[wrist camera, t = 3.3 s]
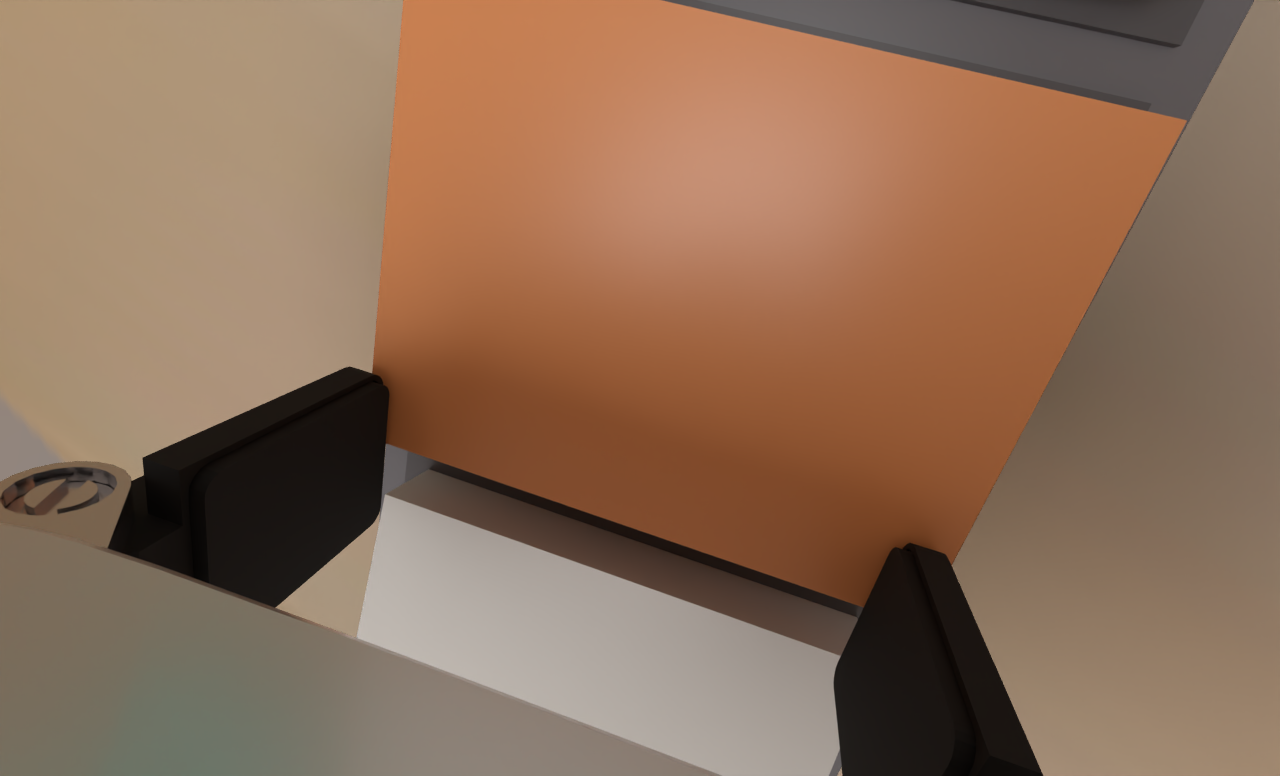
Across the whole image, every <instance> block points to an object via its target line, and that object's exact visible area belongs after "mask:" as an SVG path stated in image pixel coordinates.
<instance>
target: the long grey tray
mask: <svg viewBox="0 0 1280 776" xmlns="http://www.w3.org/2000/svg"><path fill="white" fill-rule="evenodd" d="M662 1H667V2H671V3H676V4H680V5H684V6H689V7H693V8H697V9H702V10H706V11H711V12H715V13H719V14H724V15H728V16H732V17H737V18H741V19H746V20H750V21H754V22H759V23H763V24H767V25H772V26H776V27H780V28H785V29H789V30H794V31H798V32H802V33H807V34H811V35H815V36H820V37H824V38H829V39H833V40H837V41H842V42H846V43H850V44H855V45H859V46H864V47H868V48H872V49H877V50H881V51H885V52H890V53H894V54H899V55H903V56H907V57H912V58H916V59H920V60H925V61H929V62H934V63H938V64H942V65H947V66H951V67H955V68H960V69H964V70H969V71H973V72H977V73H982V74H986V75H990V76H995V77H999V78H1004V79H1008V80H1012V81H1017V82H1021V83H1025V84H1030V85H1034V86H1039V87H1043V88H1047V89H1052V90H1056V91H1060V92H1065V93H1069V94H1074V95H1078V96H1082V97H1087V98H1091V99H1095V100H1100V101H1104V102H1109V103H1113V104H1117V105H1122V106H1126V107H1130V108H1135V109H1139V110H1144V111H1148V112H1152V113H1157V114H1161V115H1165V116H1170V117H1174V118H1179V119H1183V120H1187V122H1186V124H1185V126H1184V127H1183V129H1182V131H1181V133H1180V135H1179V137H1178V139H1177V141H1176V143H1175V144H1174V146H1173V148H1172V150H1171V152H1170V154H1169V156H1168V158H1167V160H1166V161H1165V163H1164V165H1163V167H1162V169H1161V171H1160V173H1159V175H1158V177H1157V178H1156V180H1155V182H1154V184H1153V186H1152V188H1151V190H1150V192H1149V194H1148V195H1147V197H1146V199H1145V201H1144V203H1143V205H1142V207H1141V209H1140V211H1139V212H1138V214H1137V216H1136V218H1135V220H1134V222H1133V224H1132V226H1133V225H1134V223H1135V221H1136V219H1137V217H1138V215H1139V213H1140V212H1141V210H1142V208H1143V206H1144V204H1145V202H1146V200H1147V199H1148V197H1149V195H1150V193H1151V191H1152V189H1153V187H1154V186H1155V184H1156V182H1157V180H1158V178H1159V176H1160V174H1161V173H1162V171H1163V169H1164V167H1165V165H1166V163H1167V161H1168V160H1169V158H1170V156H1171V154H1172V152H1173V150H1174V148H1175V147H1176V145H1177V143H1178V141H1179V139H1180V137H1181V135H1182V134H1183V132H1184V130H1185V128H1186V126H1187V124H1188V122H1189V121H1190V119H1191V117H1192V115H1193V113H1194V111H1195V109H1196V108H1197V106H1198V104H1199V102H1200V100H1201V98H1202V96H1203V95H1204V93H1205V91H1206V89H1207V87H1208V85H1209V83H1210V82H1211V80H1212V78H1213V76H1214V74H1215V72H1216V70H1217V69H1218V67H1219V65H1220V63H1221V61H1222V59H1223V57H1224V56H1225V54H1226V52H1227V50H1228V48H1229V46H1230V44H1231V43H1232V41H1233V39H1234V37H1235V35H1236V33H1237V31H1238V30H1239V28H1240V26H1241V24H1242V22H1243V20H1244V18H1245V17H1246V15H1247V13H1248V11H1249V9H1250V7H1251V5H1252V4H1253V2H1254V0H662ZM1132 226H1131V228H1132ZM1131 228H1130V229H1129V231H1128V233H1127V235H1126V237H1125V239H1126V238H1127V236H1128V234H1129V232H1130V230H1131ZM1125 239H1124V241H1125ZM1124 241H1123V243H1124ZM1123 243H1122V245H1123ZM1122 245H1121V246H1120V248H1119V250H1118V252H1119V251H1120V249H1121V247H1122ZM1118 252H1117V254H1118ZM1117 254H1116V256H1117ZM1116 256H1115V258H1116ZM1115 258H1114V260H1115ZM1114 260H1113V262H1114ZM1113 262H1112V263H1111V265H1112V264H1113ZM1111 265H1110V267H1111ZM1110 267H1109V269H1110ZM1109 269H1108V271H1109ZM1108 271H1107V273H1108ZM1107 273H1106V275H1107ZM1106 275H1105V277H1106ZM1105 277H1104V278H1105ZM1103 280H1104V279H1103ZM1103 280H1102V282H1103ZM1102 282H1101V284H1102ZM1101 284H1100V286H1101ZM1100 286H1099V288H1100ZM1099 288H1098V290H1099ZM1098 290H1097V291H1098ZM1096 293H1097V292H1096ZM1095 295H1096V294H1095ZM1094 297H1095V296H1094ZM1094 297H1093V299H1094ZM1093 299H1092V301H1093ZM1092 301H1091V303H1092ZM1091 303H1090V304H1091ZM1089 306H1090V305H1089ZM1088 308H1089V307H1088ZM1087 310H1088V309H1087ZM1086 312H1087V311H1086ZM1086 312H1085V314H1086ZM1085 314H1084V316H1085ZM1084 316H1083V317H1084ZM1082 319H1083V318H1082ZM1081 321H1082V320H1081ZM1080 323H1081V322H1080ZM1079 325H1080V324H1079ZM1078 327H1079V326H1078ZM1077 329H1078V328H1077ZM1077 329H1076V330H1077ZM1075 332H1076V331H1075ZM1074 334H1075V333H1074ZM1073 336H1074V335H1073ZM1072 338H1073V337H1072ZM1071 340H1072V339H1071ZM1070 342H1071V341H1070ZM1067 347H1068V346H1067ZM1066 349H1067V348H1066ZM1065 351H1066V350H1065ZM1064 353H1065V352H1064ZM1063 355H1064V354H1063ZM1058 364H1059V363H1058ZM1057 366H1058V365H1057ZM1056 368H1057V367H1056ZM1049 381H1050V380H1049ZM429 469H430V470H433V471H435V472H438V473H441V474H444V475H447V476H450V477H453V478H456V479H459V480H461V481H464V482H467V483H470V484H473V485H476V486H479V487H482V488H485V489H487V490H490V491H493V492H496V493H499V494H502V495H505V496H508V497H511V498H513V499H516V500H519V501H522V502H525V503H528V504H531V505H534V506H537V507H540V508H542V509H545V510H548V511H551V512H554V513H557V514H560V515H563V516H566V517H568V518H571V519H574V520H577V521H580V522H583V523H586V524H589V525H592V526H594V527H597V528H600V529H603V530H606V531H609V532H612V533H615V534H618V535H620V536H623V537H626V538H629V539H632V540H635V541H638V542H641V543H644V544H646V545H649V546H652V547H655V548H658V549H661V550H664V551H667V552H670V553H672V554H675V555H678V556H681V557H684V558H687V559H690V560H693V561H696V562H698V563H701V564H704V565H707V566H710V567H713V568H716V569H719V570H722V571H724V572H727V573H730V574H733V575H736V576H739V577H742V578H745V579H748V580H751V581H753V582H756V583H759V584H762V585H765V586H768V587H771V588H774V589H777V590H779V591H782V592H785V593H788V594H791V595H794V596H797V597H800V598H803V599H805V600H808V601H811V602H814V603H817V604H820V605H823V606H826V607H829V608H831V609H834V610H837V611H840V612H843V613H846V614H849V615H852V616H855V617H857V619H858V618H859V616H860V614H861V612H862V610H863V608H864V607H861V606H858V605H855V604H852V603H849V602H846V601H843V600H840V599H837V598H834V597H832V596H829V595H826V594H823V593H820V592H817V591H814V590H811V589H808V588H805V587H802V586H800V585H797V584H794V583H791V582H788V581H785V580H782V579H779V578H776V577H773V576H770V575H768V574H765V573H762V572H759V571H756V570H753V569H750V568H747V567H744V566H741V565H738V564H735V563H733V562H730V561H727V560H724V559H721V558H718V557H715V556H712V555H709V554H706V553H703V552H701V551H698V550H695V549H692V548H689V547H686V546H683V545H680V544H677V543H674V542H671V541H669V540H666V539H663V538H660V537H657V536H654V535H651V534H648V533H645V532H642V531H639V530H636V529H634V528H631V527H628V526H625V525H622V524H619V523H616V522H613V521H610V520H607V519H604V518H602V517H599V516H596V515H593V514H590V513H587V512H584V511H581V510H578V509H575V508H572V507H570V506H567V505H564V504H561V503H558V502H555V501H552V500H549V499H546V498H543V497H540V496H538V495H535V494H532V493H529V492H526V491H523V490H520V489H517V488H514V487H511V486H508V485H505V484H503V483H500V482H497V481H494V480H491V479H488V478H485V477H482V476H479V475H476V474H473V473H471V472H468V471H465V470H462V469H459V468H456V467H453V466H450V465H447V464H444V463H441V462H439V461H436V460H433V459H430V458H427V457H424V456H421V455H418V454H415V453H412V452H409V451H407V450H404V449H401V448H398V447H395V446H392V445H389V444H386V453H385V464H384V475H383V487H382V499H381V510H380V517H381V512H382V507H383V502H384V497H385V494H386V493H388V492H390V491H392V490H393V489H395V488H397V487H399V486H400V485H402V484H404V483H406V482H408V481H409V480H411V479H413V478H415V477H416V476H418V475H420V474H422V473H423V472H425V471H427V470H429ZM379 522H380V521H379ZM841 767H842V764H841V755H840V750H839V752H838V755H837V757H836V760H835V762H834V764H833V767H832V769H831V772H830V774H829V776H837V774H838V772H839V771H840V769H841Z"/></svg>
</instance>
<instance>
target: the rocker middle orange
mask: <svg viewBox="0 0 1280 776" xmlns="http://www.w3.org/2000/svg"><path fill="white" fill-rule="evenodd" d="M1186 122H1187V120H1183V119H1179V118H1174V117H1170V116H1165V115H1161V114H1157V113H1152V112H1148V111H1144V110H1139V109H1135V108H1130V107H1126V106H1122V105H1117V104H1113V103H1109V102H1104V101H1100V100H1095V99H1091V98H1087V97H1082V96H1078V95H1074V94H1069V93H1065V92H1060V91H1056V90H1052V89H1047V88H1043V87H1039V86H1034V85H1030V84H1025V83H1021V82H1017V81H1012V80H1008V79H1004V78H999V77H995V76H990V75H986V74H982V73H977V72H973V71H969V70H964V69H960V68H955V67H951V66H947V65H942V64H938V63H934V62H929V61H925V60H920V59H916V58H912V57H907V56H903V55H899V54H894V53H890V52H885V51H881V50H877V49H872V48H868V47H864V46H859V45H855V44H850V43H846V42H842V41H837V40H833V39H829V38H824V37H820V36H815V35H811V34H807V33H802V32H798V31H794V30H789V29H785V28H780V27H776V26H772V25H767V24H763V23H759V22H754V21H750V20H746V19H741V18H737V17H732V16H728V15H724V14H719V13H715V12H711V11H706V10H702V9H697V8H693V7H689V6H684V5H680V4H676V3H671V2H667V1H662V0H403V12H402V24H401V36H400V48H399V60H398V72H397V83H396V95H395V107H394V119H393V131H392V143H391V155H390V167H389V179H388V191H387V203H386V215H385V227H384V239H383V251H382V263H381V275H380V287H379V299H378V311H377V323H376V335H375V347H374V359H373V371H372V374H375V375H378V376H380V377H381V378H382V381H383V385H385V386H387V387H388V389H389V407H388V420H387V433H386V444H389V445H392V446H395V447H398V448H401V449H404V450H407V451H409V452H412V453H415V454H418V455H421V456H424V457H427V458H430V459H433V460H436V461H439V462H441V463H444V464H447V465H450V466H453V467H456V468H459V469H462V470H465V471H468V472H471V473H473V474H476V475H479V476H482V477H485V478H488V479H491V480H494V481H497V482H500V483H503V484H505V485H508V486H511V487H514V488H517V489H520V490H523V491H526V492H529V493H532V494H535V495H538V496H540V497H543V498H546V499H549V500H552V501H555V502H558V503H561V504H564V505H567V506H570V507H572V508H575V509H578V510H581V511H584V512H587V513H590V514H593V515H596V516H599V517H602V518H604V519H607V520H610V521H613V522H616V523H619V524H622V525H625V526H628V527H631V528H634V529H636V530H639V531H642V532H645V533H648V534H651V535H654V536H657V537H660V538H663V539H666V540H669V541H671V542H674V543H677V544H680V545H683V546H686V547H689V548H692V549H695V550H698V551H701V552H703V553H706V554H709V555H712V556H715V557H718V558H721V559H724V560H727V561H730V562H733V563H735V564H738V565H741V566H744V567H747V568H750V569H753V570H756V571H759V572H762V573H765V574H768V575H770V576H773V577H776V578H779V579H782V580H785V581H788V582H791V583H794V584H797V585H800V586H802V587H805V588H808V589H811V590H814V591H817V592H820V593H823V594H826V595H829V596H832V597H834V598H837V599H840V600H843V601H846V602H849V603H852V604H855V605H858V606H861V607H864V606H865V604H866V601H867V599H868V597H869V595H870V593H871V591H872V589H873V587H874V584H875V582H876V580H877V578H878V576H879V574H880V572H881V570H882V568H883V565H884V563H885V561H886V559H887V557H888V555H889V553H890V551H891V550H892V549H893V548H894V547H897V548H900V549H903V547H904V546H905V545H906V544H908V543H913V544H916V545H919V546H922V547H925V548H929V549H932V550H935V551H938V552H941V553H944V554H946V556H947V557H948V559H949V561H950V564H951V565H952V564H953V562H954V560H955V558H956V556H957V554H958V552H959V550H960V548H961V547H962V545H963V543H964V541H965V539H966V537H967V535H968V533H969V531H970V530H971V528H972V526H973V524H974V522H975V520H976V518H977V516H978V515H979V513H980V511H981V509H982V507H983V505H984V503H985V501H986V499H987V498H988V496H989V494H990V492H991V490H992V488H993V486H994V484H995V482H996V481H997V479H998V477H999V475H1000V473H1001V471H1002V469H1003V467H1004V465H1005V464H1006V462H1007V460H1008V458H1009V456H1010V454H1011V452H1012V450H1013V448H1014V447H1015V445H1016V443H1017V441H1018V439H1019V437H1020V435H1021V433H1022V431H1023V430H1024V428H1025V426H1026V424H1027V422H1028V420H1029V418H1030V416H1031V414H1032V413H1033V411H1034V409H1035V407H1036V405H1037V403H1038V401H1039V399H1040V397H1041V396H1042V394H1043V392H1044V390H1045V388H1046V386H1047V384H1048V382H1049V380H1050V379H1051V377H1052V375H1053V373H1054V371H1055V369H1056V367H1057V365H1058V363H1059V362H1060V360H1061V358H1062V356H1063V354H1064V352H1065V350H1066V348H1067V346H1068V345H1069V343H1070V341H1071V339H1072V337H1073V335H1074V333H1075V331H1076V329H1077V328H1078V326H1079V324H1080V322H1081V320H1082V318H1083V316H1084V314H1085V312H1086V311H1087V309H1088V307H1089V305H1090V303H1091V301H1092V299H1093V297H1094V296H1095V294H1096V292H1097V290H1098V288H1099V286H1100V284H1101V282H1102V280H1103V279H1104V277H1105V275H1106V273H1107V271H1108V269H1109V267H1110V265H1111V263H1112V262H1113V260H1114V258H1115V256H1116V254H1117V252H1118V250H1119V248H1120V246H1121V245H1122V243H1123V241H1124V239H1125V237H1126V235H1127V233H1128V231H1129V229H1130V228H1131V226H1132V224H1133V222H1134V220H1135V218H1136V216H1137V214H1138V212H1139V211H1140V209H1141V207H1142V205H1143V203H1144V201H1145V199H1146V197H1147V195H1148V194H1149V192H1150V190H1151V188H1152V186H1153V184H1154V182H1155V180H1156V178H1157V177H1158V175H1159V173H1160V171H1161V169H1162V167H1163V165H1164V163H1165V161H1166V160H1167V158H1168V156H1169V154H1170V152H1171V150H1172V148H1173V146H1174V144H1175V143H1176V141H1177V139H1178V137H1179V135H1180V133H1181V131H1182V129H1183V127H1184V126H1185V124H1186Z"/></svg>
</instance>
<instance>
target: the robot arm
mask: <svg viewBox="0 0 1280 776" xmlns="http://www.w3.org/2000/svg"><path fill="white" fill-rule="evenodd" d="M388 407H389V389H388V387H387V386H385V385H383V381H382V378H381V377H380V376H378V375H375V374H372V373H369V372H366V371H362V370H359V369H356V368H353V367H346V368H343V369H341V370H339V371H337V372H334V373H332V374H330V375H328V376H325V377H323V378H321V379H319V380H316V381H314V382H312V383H310V384H307V385H305V386H303V387H301V388H298V389H296V390H294V391H292V392H289V393H287V394H285V395H283V396H280V397H278V398H276V399H274V400H271V401H269V402H267V403H265V404H262V405H260V406H258V407H256V408H253V409H251V410H249V411H247V412H244V413H242V414H240V415H238V416H235V417H233V418H231V419H229V420H226V421H224V422H222V423H220V424H217V425H215V426H213V427H211V428H208V429H206V430H204V431H202V432H199V433H197V434H195V435H193V436H190V437H188V438H186V439H184V440H182V441H179V442H177V443H175V444H173V445H170V446H168V447H166V448H164V449H161V450H159V451H157V452H155V453H152V454H150V455H148V456H146V457H143V468H144V476H142V477H139V478H137V479H135V480H133V481H131V477H130V475H129V474H128V473H127V472H126V471H125V470H124V469H121V468H119V467H117V466H115V465H112V464H106V463H101V462H87V461H74V462H64V463H54V464H50V465H45V466H41V467H36V468H32V469H29V470H26V471H23V472H20V473H17V474H15V475H12V476H10V477H9V478H7V479H5V480H3V481H1V482H0V776H722V775H719V774H717V773H714V772H711V771H709V770H706V769H704V768H701V767H698V766H696V765H693V764H690V763H688V762H685V761H683V760H680V759H677V758H675V757H672V756H669V755H667V754H664V753H662V752H659V751H656V750H654V749H651V748H648V747H646V746H643V745H641V744H638V743H635V742H633V741H630V740H627V739H625V738H622V737H620V736H617V735H614V734H612V733H609V732H606V731H604V730H601V729H599V728H596V727H593V726H591V725H588V724H586V723H583V722H580V721H578V720H575V719H572V718H570V717H567V716H564V715H562V714H559V713H556V712H554V711H551V710H548V709H546V708H543V707H540V706H538V705H535V704H532V703H530V702H527V701H524V700H522V699H519V698H516V697H514V696H511V695H508V694H506V693H503V692H500V691H498V690H495V689H492V688H490V687H487V686H484V685H482V684H479V683H476V682H474V681H471V680H468V679H466V678H463V677H460V676H458V675H455V674H452V673H450V672H447V671H444V670H442V669H439V668H436V667H434V666H431V665H428V664H426V663H423V662H420V661H418V660H415V659H412V658H410V657H407V656H404V655H401V654H399V653H396V652H393V651H391V650H388V649H385V648H383V647H380V646H377V645H375V644H372V643H369V642H366V641H364V640H361V639H358V638H356V637H353V636H350V635H347V634H345V633H342V632H339V631H336V630H334V629H331V628H328V627H326V626H323V625H320V624H317V623H315V622H312V621H309V620H307V619H304V618H301V617H298V616H296V615H293V614H290V613H287V612H285V611H282V610H279V609H277V608H275V607H277V606H278V605H279V604H280V603H281V602H282V601H284V600H285V599H286V598H287V597H288V596H289V595H291V594H292V593H293V592H294V591H295V590H296V589H298V588H299V587H300V586H301V585H302V584H303V583H305V582H306V581H307V580H308V579H309V578H310V577H312V576H313V575H314V574H315V573H316V572H317V571H319V570H320V569H321V568H322V567H323V566H324V565H326V564H327V563H328V562H329V561H330V560H331V559H333V558H334V557H335V556H336V555H337V554H338V553H340V552H341V551H342V550H343V549H344V548H345V547H347V546H348V545H349V544H350V543H351V542H352V541H354V540H355V539H356V538H357V537H358V536H359V535H361V534H362V533H363V532H364V531H365V530H366V529H368V528H369V527H370V526H371V525H372V524H373V523H374V521H375V520H376V518H377V516H378V514H379V512H380V508H381V499H382V486H383V473H384V459H385V446H386V433H387V420H388ZM833 685H834V696H835V706H836V716H837V725H838V735H839V745H840V755H841V764H842V774H843V776H1043V774H1042V772H1041V769H1040V767H1039V765H1038V763H1037V760H1036V758H1035V756H1034V753H1033V751H1032V749H1031V746H1030V744H1029V742H1028V740H1027V737H1026V735H1025V733H1024V730H1023V728H1022V726H1021V724H1020V721H1019V719H1018V717H1017V714H1016V712H1015V710H1014V708H1013V705H1012V703H1011V701H1010V698H1009V696H1008V694H1007V692H1006V689H1005V687H1004V685H1003V682H1002V680H1001V678H1000V675H999V673H998V671H997V669H996V666H995V664H994V662H993V660H992V658H991V655H990V653H989V651H988V648H987V646H986V644H985V642H984V639H983V637H982V635H981V632H980V630H979V628H978V626H977V623H976V621H975V619H974V616H973V614H972V612H971V609H970V607H969V605H968V603H967V600H966V598H965V596H964V593H963V591H962V589H961V587H960V584H959V582H958V580H957V577H956V575H955V573H954V571H953V568H952V566H951V564H950V561H949V559H948V557H947V556H946V554H944V553H941V552H938V551H935V550H932V549H929V548H925V547H922V546H919V545H916V544H913V543H908V544H906V545H905V546H904V547H903V549H900V548H897V547H894V548H893V549H892V550H891V551H890V553H889V555H888V557H887V559H886V561H885V563H884V565H883V568H882V570H881V572H880V574H879V576H878V578H877V580H876V582H875V584H874V587H873V589H872V591H871V593H870V595H869V597H868V599H867V601H866V604H865V606H864V608H863V610H862V612H861V614H860V616H859V618H858V621H857V623H856V625H855V627H854V629H853V631H852V633H851V635H850V637H849V640H848V642H847V644H846V646H845V648H844V650H843V652H842V654H841V657H840V659H839V661H838V663H837V666H836V669H835V674H834V682H833Z"/></svg>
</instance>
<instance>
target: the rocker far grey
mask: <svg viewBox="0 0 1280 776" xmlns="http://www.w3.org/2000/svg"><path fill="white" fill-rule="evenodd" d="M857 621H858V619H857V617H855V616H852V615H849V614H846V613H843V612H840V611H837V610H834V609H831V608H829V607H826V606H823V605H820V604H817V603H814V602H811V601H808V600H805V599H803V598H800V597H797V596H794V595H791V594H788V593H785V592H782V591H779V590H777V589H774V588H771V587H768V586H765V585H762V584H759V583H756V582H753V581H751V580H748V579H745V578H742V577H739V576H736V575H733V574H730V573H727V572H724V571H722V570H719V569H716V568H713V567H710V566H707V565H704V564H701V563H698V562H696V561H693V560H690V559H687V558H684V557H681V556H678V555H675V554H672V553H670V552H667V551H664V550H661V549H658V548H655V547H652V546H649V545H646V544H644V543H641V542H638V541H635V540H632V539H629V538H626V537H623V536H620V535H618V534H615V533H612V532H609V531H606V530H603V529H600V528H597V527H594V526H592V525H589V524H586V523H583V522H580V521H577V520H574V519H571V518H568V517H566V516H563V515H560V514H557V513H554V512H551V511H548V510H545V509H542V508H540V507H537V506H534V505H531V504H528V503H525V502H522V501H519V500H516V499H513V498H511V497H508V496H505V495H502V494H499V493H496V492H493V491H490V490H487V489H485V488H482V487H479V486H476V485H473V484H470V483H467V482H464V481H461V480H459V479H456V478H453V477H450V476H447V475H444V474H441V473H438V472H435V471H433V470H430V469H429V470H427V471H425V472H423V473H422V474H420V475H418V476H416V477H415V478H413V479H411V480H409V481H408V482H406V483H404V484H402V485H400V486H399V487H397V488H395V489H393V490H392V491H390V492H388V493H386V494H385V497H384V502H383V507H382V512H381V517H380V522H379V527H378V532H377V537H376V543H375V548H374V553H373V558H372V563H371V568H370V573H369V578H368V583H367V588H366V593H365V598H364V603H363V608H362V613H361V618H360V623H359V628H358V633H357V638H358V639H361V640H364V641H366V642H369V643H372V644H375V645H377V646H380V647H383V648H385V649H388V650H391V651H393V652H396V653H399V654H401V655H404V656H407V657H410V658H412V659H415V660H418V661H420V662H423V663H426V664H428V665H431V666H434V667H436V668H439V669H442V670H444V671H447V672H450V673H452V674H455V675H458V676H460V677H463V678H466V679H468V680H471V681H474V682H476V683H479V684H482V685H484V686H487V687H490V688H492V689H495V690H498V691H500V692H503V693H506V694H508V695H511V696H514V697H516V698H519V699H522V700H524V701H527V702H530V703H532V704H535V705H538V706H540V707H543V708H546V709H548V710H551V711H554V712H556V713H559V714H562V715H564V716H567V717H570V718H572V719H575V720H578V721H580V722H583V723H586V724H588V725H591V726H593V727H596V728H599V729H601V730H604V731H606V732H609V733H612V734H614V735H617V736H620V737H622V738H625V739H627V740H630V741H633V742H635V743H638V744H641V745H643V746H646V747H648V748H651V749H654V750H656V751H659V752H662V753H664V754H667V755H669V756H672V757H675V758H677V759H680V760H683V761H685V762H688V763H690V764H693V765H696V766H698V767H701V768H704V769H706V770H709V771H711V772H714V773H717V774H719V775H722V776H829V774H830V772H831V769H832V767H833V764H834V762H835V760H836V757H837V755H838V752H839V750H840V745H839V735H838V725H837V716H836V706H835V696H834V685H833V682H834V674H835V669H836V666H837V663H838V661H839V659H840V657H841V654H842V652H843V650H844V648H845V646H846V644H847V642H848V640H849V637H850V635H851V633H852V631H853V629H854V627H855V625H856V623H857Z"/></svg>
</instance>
